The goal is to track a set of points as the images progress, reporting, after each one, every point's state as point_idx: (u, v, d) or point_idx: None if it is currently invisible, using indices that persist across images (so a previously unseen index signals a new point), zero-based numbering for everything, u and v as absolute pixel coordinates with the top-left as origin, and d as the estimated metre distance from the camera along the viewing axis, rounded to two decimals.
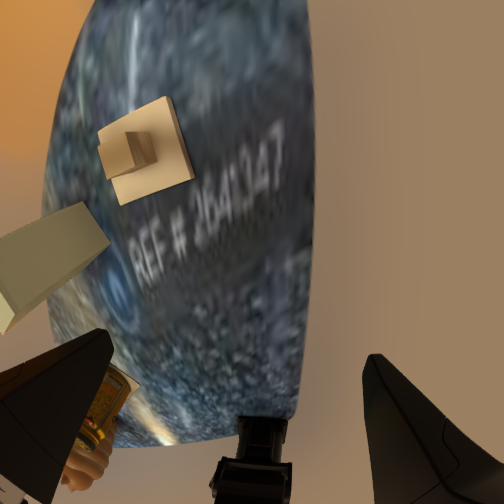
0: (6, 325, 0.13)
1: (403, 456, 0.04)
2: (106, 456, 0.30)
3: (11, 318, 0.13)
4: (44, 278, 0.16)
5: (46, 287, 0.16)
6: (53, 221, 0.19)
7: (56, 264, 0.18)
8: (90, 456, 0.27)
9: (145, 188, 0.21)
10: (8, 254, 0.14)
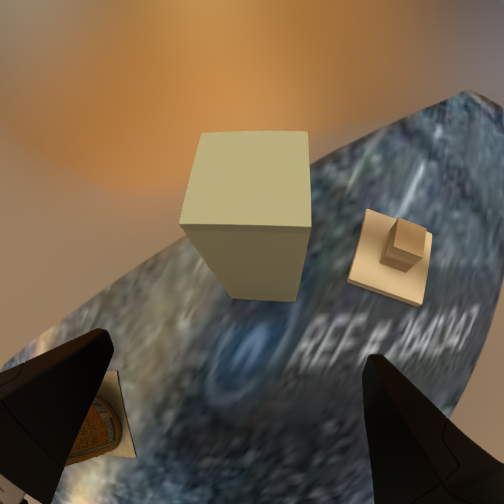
0: (235, 221, 0.11)
1: (403, 456, 0.04)
2: None
3: (283, 224, 0.11)
4: None
5: None
6: None
7: None
8: None
9: (383, 284, 0.21)
10: None
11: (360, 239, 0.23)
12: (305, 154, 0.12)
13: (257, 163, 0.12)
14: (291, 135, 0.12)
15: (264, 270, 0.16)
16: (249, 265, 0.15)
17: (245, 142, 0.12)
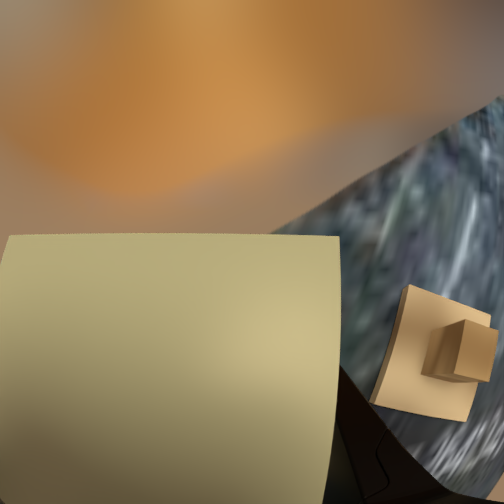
0: None
1: (337, 464, 0.04)
2: None
3: None
4: None
5: None
6: None
7: None
8: None
9: (422, 405, 0.11)
10: None
11: (397, 338, 0.13)
12: (320, 398, 0.02)
13: (104, 420, 0.02)
14: (262, 263, 0.03)
15: None
16: None
17: (78, 293, 0.03)
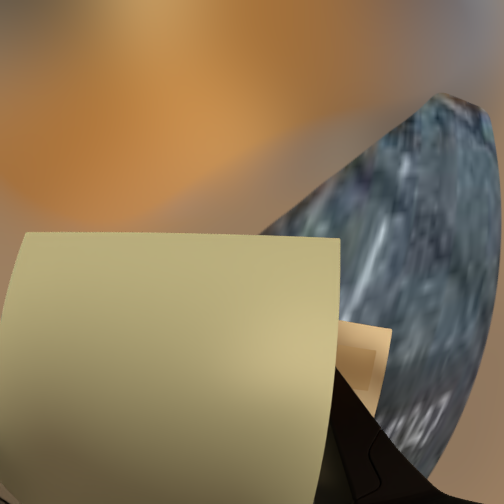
0: None
1: (330, 464, 0.04)
2: None
3: None
4: None
5: None
6: None
7: None
8: None
9: None
10: None
11: None
12: (316, 392, 0.02)
13: (111, 409, 0.02)
14: (265, 262, 0.03)
15: None
16: None
17: (91, 287, 0.03)
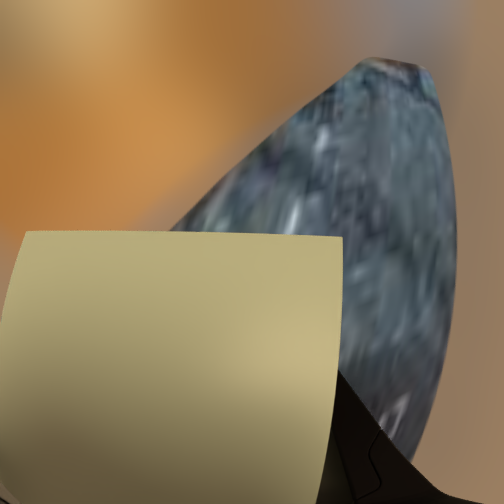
0: None
1: (330, 464, 0.04)
2: None
3: None
4: None
5: None
6: None
7: None
8: None
9: None
10: None
11: None
12: (319, 391, 0.02)
13: (112, 408, 0.02)
14: (267, 261, 0.03)
15: None
16: None
17: (92, 287, 0.03)
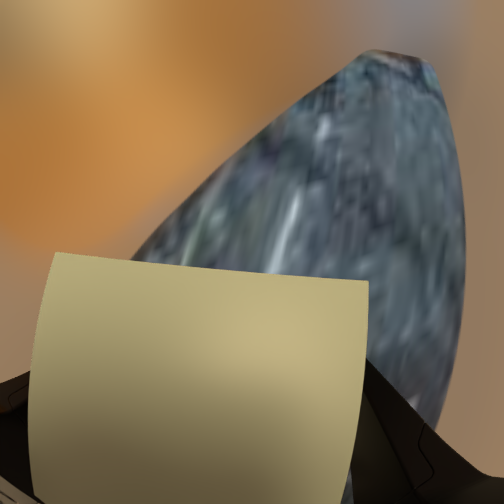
0: None
1: (378, 460, 0.04)
2: None
3: None
4: None
5: None
6: None
7: None
8: None
9: None
10: None
11: None
12: (349, 400, 0.03)
13: (174, 424, 0.03)
14: (310, 301, 0.03)
15: None
16: None
17: (145, 317, 0.04)
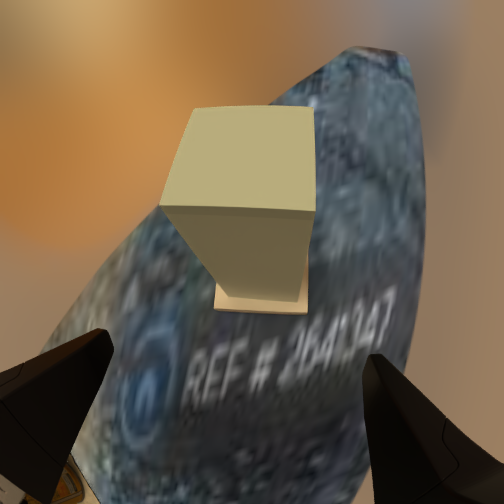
0: (224, 202, 0.09)
1: (403, 456, 0.04)
2: None
3: (281, 207, 0.09)
4: None
5: (306, 253, 0.12)
6: None
7: None
8: None
9: (254, 304, 0.21)
10: None
11: None
12: (310, 130, 0.10)
13: (254, 139, 0.10)
14: (295, 110, 0.10)
15: (261, 265, 0.14)
16: (244, 258, 0.13)
17: (242, 116, 0.10)
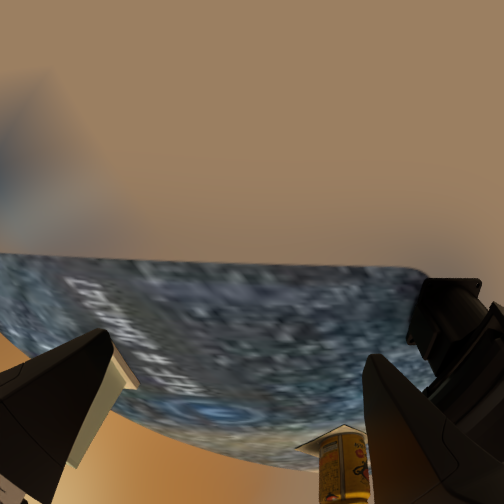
0: None
1: (403, 456, 0.04)
2: None
3: None
4: None
5: None
6: None
7: None
8: None
9: (120, 370, 0.26)
10: None
11: None
12: None
13: None
14: None
15: None
16: None
17: None
